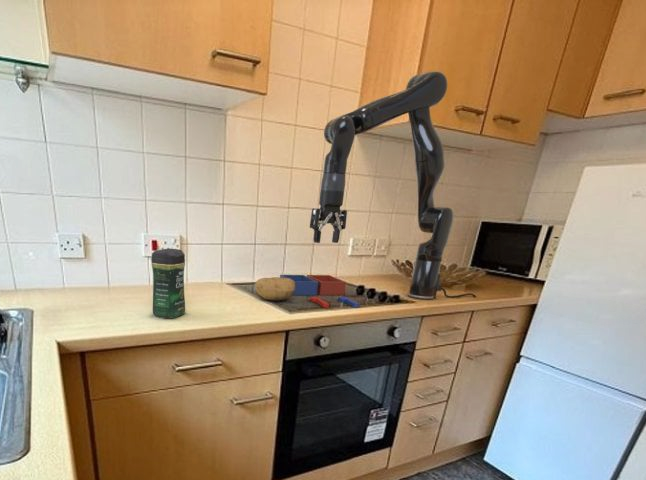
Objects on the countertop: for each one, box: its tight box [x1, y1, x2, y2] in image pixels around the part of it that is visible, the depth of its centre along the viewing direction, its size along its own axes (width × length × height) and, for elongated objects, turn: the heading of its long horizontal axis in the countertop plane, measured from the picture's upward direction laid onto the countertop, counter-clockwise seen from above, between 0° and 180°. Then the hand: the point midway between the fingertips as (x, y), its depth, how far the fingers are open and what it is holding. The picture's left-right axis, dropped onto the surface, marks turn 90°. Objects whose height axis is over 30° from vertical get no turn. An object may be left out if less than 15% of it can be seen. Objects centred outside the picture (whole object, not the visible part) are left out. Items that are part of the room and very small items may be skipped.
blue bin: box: [279, 274, 318, 296], centre depth 159 cm, size 10×15×5 cm
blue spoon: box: [337, 296, 360, 308], centre depth 143 cm, size 12×4×1 cm, turn 14°
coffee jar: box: [150, 248, 186, 319], centre depth 114 cm, size 10×8×19 cm
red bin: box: [306, 274, 347, 296], centre depth 161 cm, size 10×15×5 cm
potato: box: [254, 276, 296, 302], centre depth 140 cm, size 10×14×8 cm
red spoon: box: [309, 296, 330, 309], centre depth 140 cm, size 12×4×1 cm, turn 14°
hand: (326, 242), depth 135 cm, fingers open, 8 cm apart
